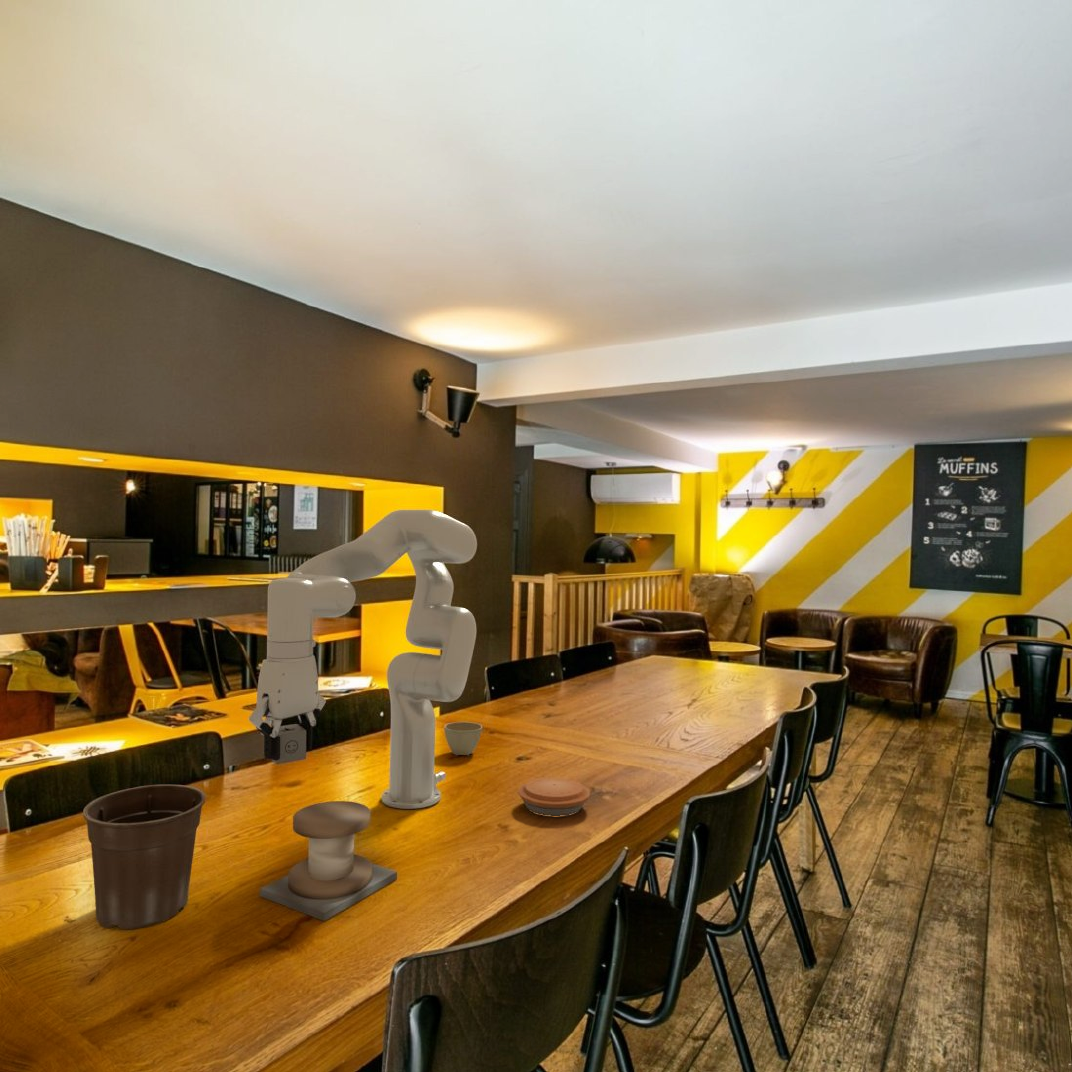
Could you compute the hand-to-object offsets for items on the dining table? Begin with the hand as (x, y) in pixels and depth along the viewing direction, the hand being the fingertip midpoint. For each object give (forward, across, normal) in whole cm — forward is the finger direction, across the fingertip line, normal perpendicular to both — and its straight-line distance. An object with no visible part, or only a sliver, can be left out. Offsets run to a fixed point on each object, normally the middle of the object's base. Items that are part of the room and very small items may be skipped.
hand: (288, 752), depth 126 cm
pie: (+20, -48, +26) cm, 58 cm away
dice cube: (+1, 0, -1) cm, 1 cm away
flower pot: (+20, -69, -13) cm, 73 cm away
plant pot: (+19, +23, -5) cm, 30 cm away
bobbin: (+19, +3, +13) cm, 23 cm away
